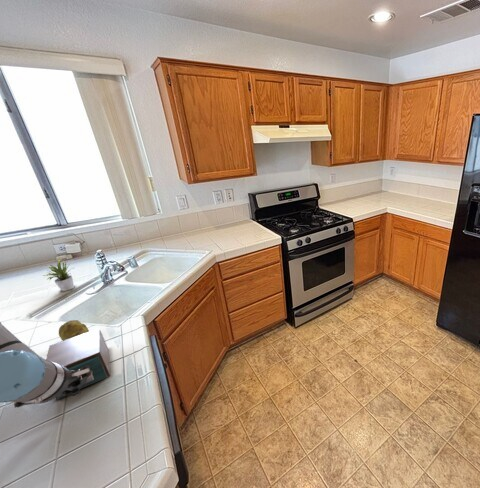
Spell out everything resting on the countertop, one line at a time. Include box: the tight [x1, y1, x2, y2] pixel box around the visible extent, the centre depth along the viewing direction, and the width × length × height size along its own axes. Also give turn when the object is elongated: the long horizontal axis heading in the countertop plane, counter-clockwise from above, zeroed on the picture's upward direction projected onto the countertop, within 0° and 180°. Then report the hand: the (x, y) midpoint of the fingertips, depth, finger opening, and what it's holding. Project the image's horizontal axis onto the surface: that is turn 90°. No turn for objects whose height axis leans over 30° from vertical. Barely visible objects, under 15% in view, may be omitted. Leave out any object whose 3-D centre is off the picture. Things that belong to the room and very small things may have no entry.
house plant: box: [37, 259, 75, 292], centre depth 139 cm, size 14×14×16 cm
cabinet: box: [45, 327, 111, 401], centre depth 84 cm, size 16×13×10 cm
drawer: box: [57, 356, 108, 400], centre depth 81 cm, size 19×11×8 cm, turn 40°
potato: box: [58, 319, 90, 341], centre depth 98 cm, size 8×13×8 cm, turn 45°
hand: (76, 389), depth 72 cm, fingers closed
